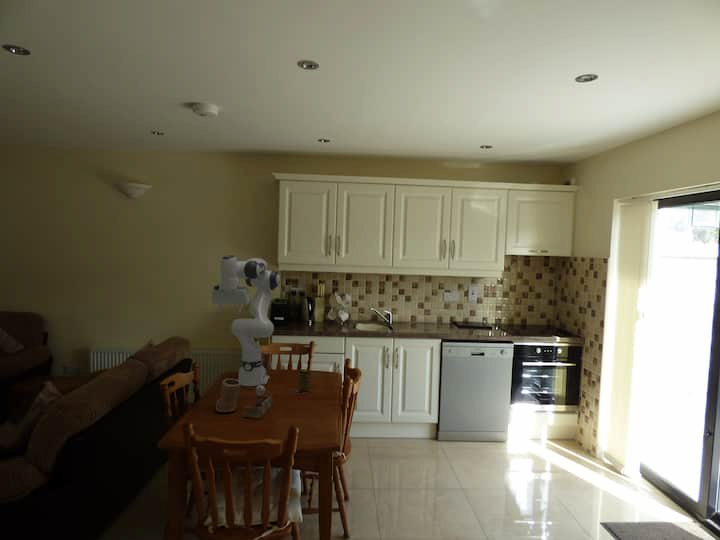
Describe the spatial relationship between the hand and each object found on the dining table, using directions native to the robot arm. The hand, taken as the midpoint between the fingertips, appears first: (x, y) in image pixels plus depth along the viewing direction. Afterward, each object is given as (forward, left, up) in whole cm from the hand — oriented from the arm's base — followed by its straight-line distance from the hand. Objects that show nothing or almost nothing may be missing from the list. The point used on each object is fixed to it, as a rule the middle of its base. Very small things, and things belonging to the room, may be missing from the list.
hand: (230, 312), depth 237 cm
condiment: (-24, +35, -48) cm, 64 cm away
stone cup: (+12, +5, -48) cm, 49 cm away
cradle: (+12, +21, -47) cm, 53 cm away
